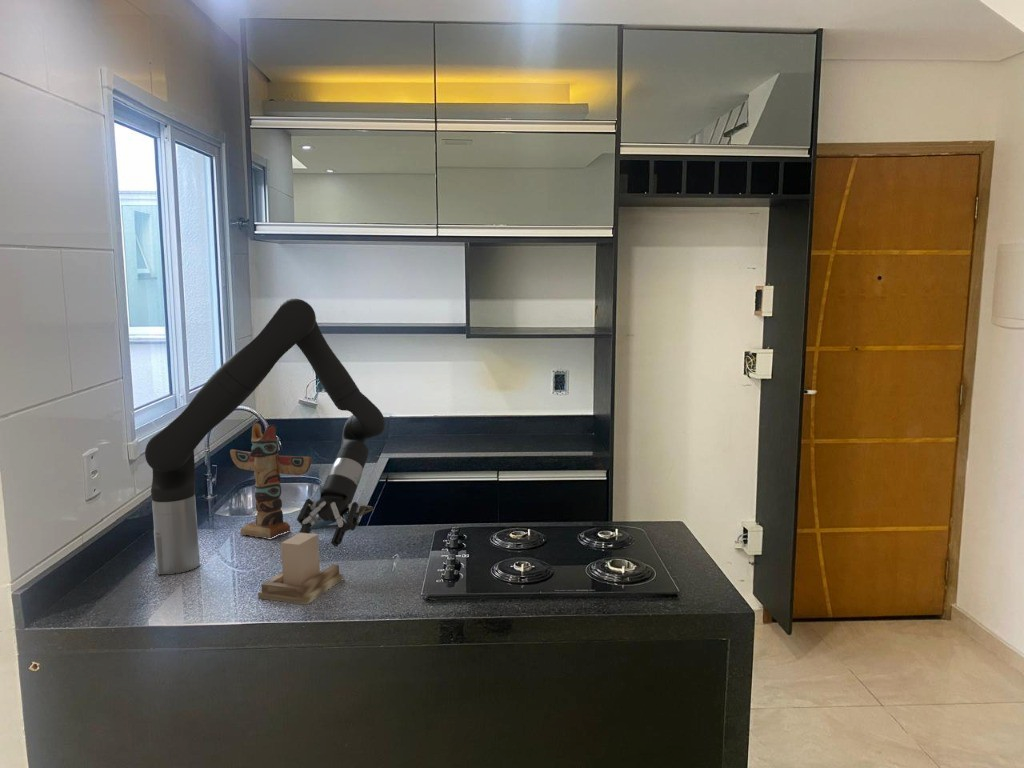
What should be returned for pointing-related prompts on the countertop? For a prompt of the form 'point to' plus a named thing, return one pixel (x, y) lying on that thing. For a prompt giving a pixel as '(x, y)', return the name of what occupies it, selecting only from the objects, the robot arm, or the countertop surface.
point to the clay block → (300, 558)
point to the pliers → (362, 512)
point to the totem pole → (268, 480)
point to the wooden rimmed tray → (300, 587)
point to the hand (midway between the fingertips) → (317, 543)
